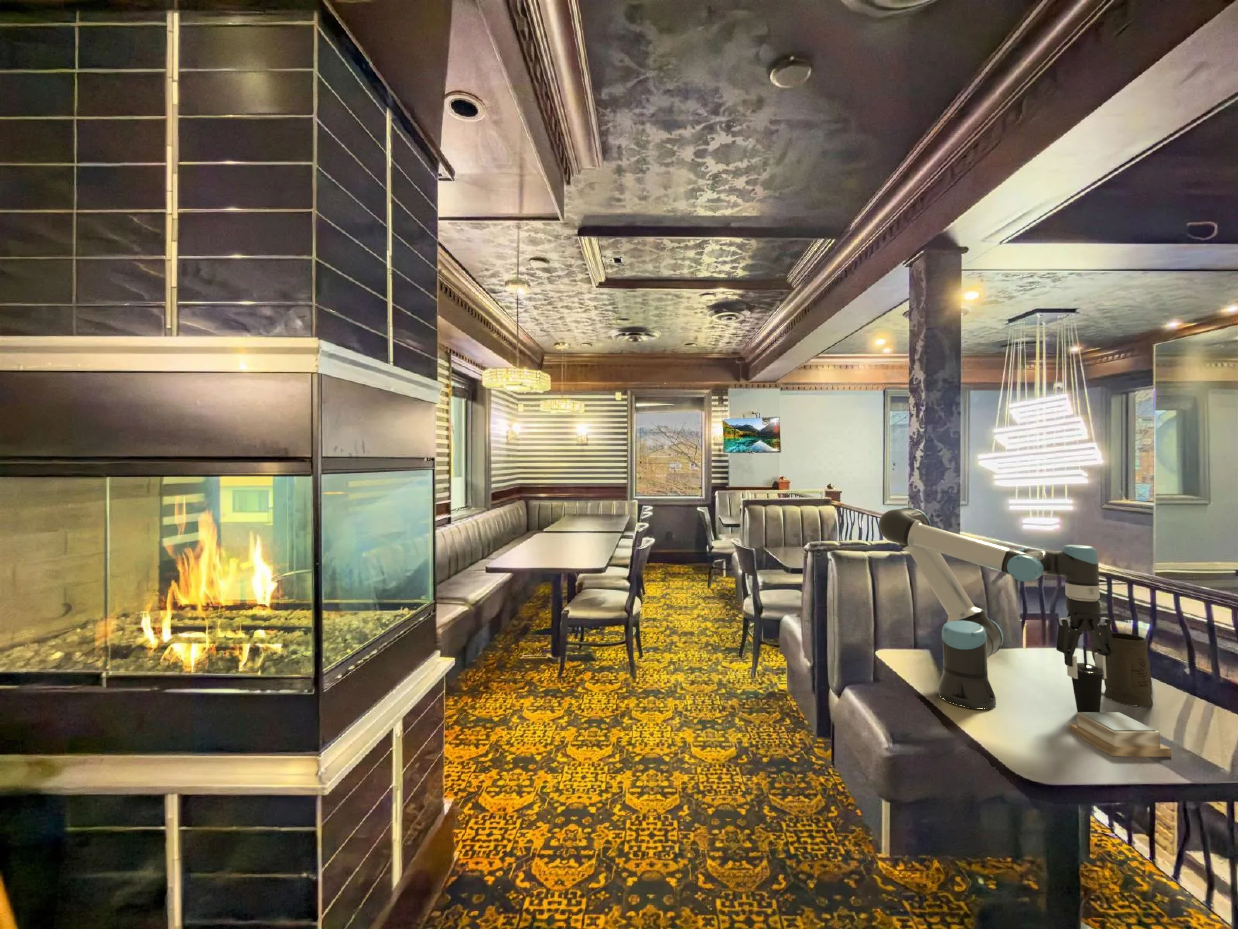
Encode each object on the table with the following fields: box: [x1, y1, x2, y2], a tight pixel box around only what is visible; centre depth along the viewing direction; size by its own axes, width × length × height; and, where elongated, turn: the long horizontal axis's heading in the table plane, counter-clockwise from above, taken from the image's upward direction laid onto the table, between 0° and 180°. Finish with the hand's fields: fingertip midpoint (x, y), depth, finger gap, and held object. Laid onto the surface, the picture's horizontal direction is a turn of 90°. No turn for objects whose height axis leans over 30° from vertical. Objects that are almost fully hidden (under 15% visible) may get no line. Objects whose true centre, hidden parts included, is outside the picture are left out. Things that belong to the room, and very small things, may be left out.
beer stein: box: [1090, 632, 1154, 707], centre depth 162 cm, size 15×11×20 cm
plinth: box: [1068, 711, 1172, 758], centre depth 134 cm, size 14×13×6 cm
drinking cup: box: [1071, 645, 1104, 714], centre depth 150 cm, size 8×8×20 cm
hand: (1086, 677), depth 150 cm, fingers closed on drinking cup, 7 cm apart
